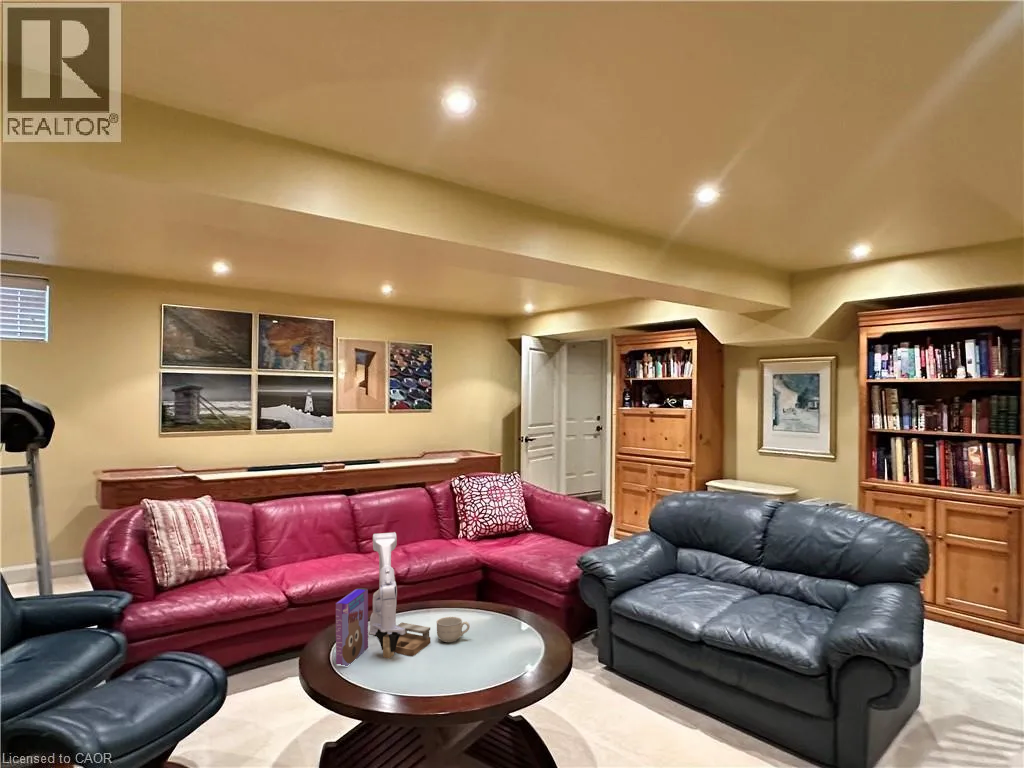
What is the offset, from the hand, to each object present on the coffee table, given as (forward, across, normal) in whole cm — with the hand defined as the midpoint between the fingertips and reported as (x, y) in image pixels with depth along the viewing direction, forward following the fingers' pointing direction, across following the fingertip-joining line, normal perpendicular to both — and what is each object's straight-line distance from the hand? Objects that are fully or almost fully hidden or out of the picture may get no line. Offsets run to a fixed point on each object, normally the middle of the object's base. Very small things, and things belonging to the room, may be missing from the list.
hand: (388, 650), depth 226 cm
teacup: (+3, +16, +23) cm, 28 cm away
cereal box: (+3, -13, -6) cm, 14 cm away
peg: (+2, 0, 0) cm, 2 cm away
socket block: (+2, +2, +10) cm, 10 cm away
